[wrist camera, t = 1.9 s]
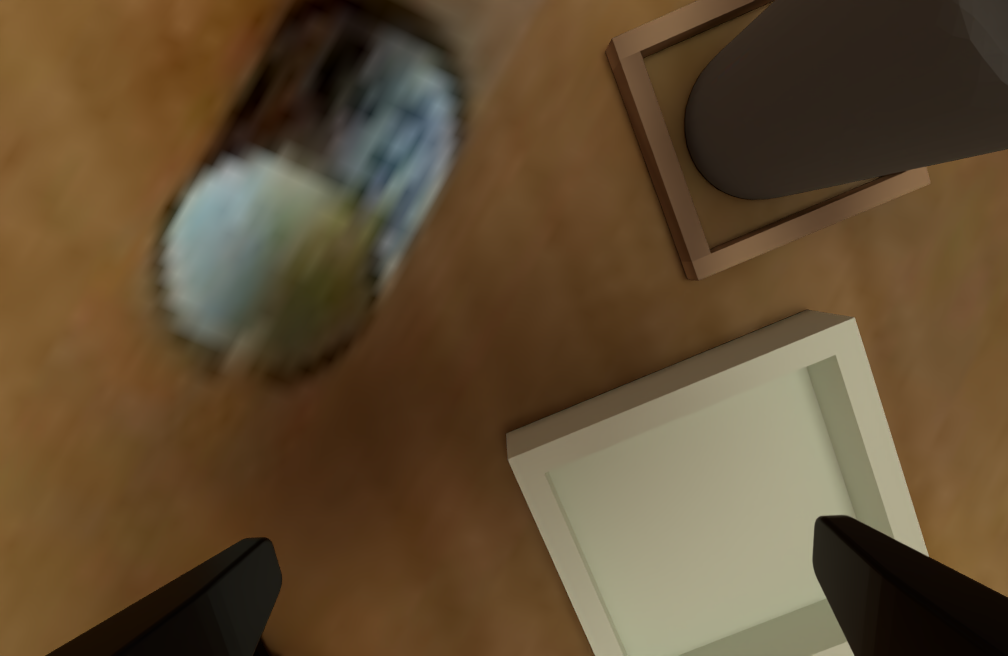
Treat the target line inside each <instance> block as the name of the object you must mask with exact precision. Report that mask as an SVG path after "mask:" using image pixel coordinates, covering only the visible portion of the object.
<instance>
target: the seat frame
mask: <svg viewBox="0 0 1008 656" xmlns="http://www.w3.org/2000/svg"><path fill="white" fill-rule="evenodd" d="M772 1H774V0H698V1H695V2H693V3H691V4H689V5H686V6H684V7H682V8H680V9H677V10H675V11H673V12H671V13H668V14H666V15H664V16H662V17H659V18H657V19H655V20H653V21H650V22H648V23H646V24H644V25H641V26H639V27H637V28H635V29H632V30H630V31H628V32H626V33H623V34H621V35H619V36H617V37H614V38H612V40H611V41H610V43H609V45H608V47H607V49H606V51H605V52H606V54H607V57H608V60H609V63H610V65H611V68H612V71H613V74H614V76H615V79H616V82H617V85H618V88H619V90H620V93H621V96H622V99H623V101H624V104H625V107H626V110H627V112H628V115H629V118H630V121H631V124H632V126H633V129H634V132H635V135H636V137H637V140H638V143H639V146H640V148H641V151H642V154H643V157H644V160H645V162H646V165H647V168H648V171H649V173H650V176H651V179H652V182H653V184H654V187H655V190H656V193H657V196H658V198H659V201H660V204H661V207H662V209H663V212H664V215H665V218H666V220H667V223H668V226H669V229H670V232H671V234H672V237H673V240H674V243H675V245H676V248H677V251H678V254H679V257H680V259H681V262H682V265H683V268H684V270H685V273H686V276H687V279H689V280H698V281H699V280H701V279H704V278H706V277H708V276H711V275H713V274H715V273H718V272H720V271H723V270H725V269H727V268H730V267H732V266H735V265H737V264H739V263H742V262H744V261H747V260H749V259H751V258H754V257H756V256H759V255H761V254H763V253H766V252H768V251H771V250H773V249H775V248H778V247H780V246H782V245H785V244H787V243H790V242H792V241H794V240H797V239H799V238H802V237H804V236H806V235H809V234H811V233H814V232H816V231H818V230H821V229H823V228H826V227H828V226H830V225H833V224H835V223H837V222H840V221H842V220H845V219H847V218H849V217H852V216H854V215H857V214H859V213H861V212H864V211H866V210H869V209H871V208H873V207H876V206H878V205H881V204H883V203H885V202H888V201H890V200H892V199H895V198H897V197H900V196H902V195H904V194H907V193H909V192H912V191H914V190H916V189H919V188H921V187H924V186H926V185H928V184H931V182H930V178H929V175H928V171H927V167H921V168H916V169H912V170H907V171H902V172H898V173H893V174H888V175H883V177H881V178H879V179H876V180H874V181H872V182H869V183H867V184H865V185H862V186H860V187H857V188H855V189H853V190H850V191H848V192H846V193H843V194H841V195H838V196H836V197H834V198H831V199H829V200H827V201H824V202H822V203H819V204H817V205H815V206H812V207H810V208H807V209H805V210H803V211H800V212H798V213H796V214H793V215H791V216H788V217H786V218H784V219H781V220H779V221H777V222H774V223H772V224H769V225H767V226H765V227H762V228H760V229H758V230H755V231H753V232H750V233H748V234H746V235H743V236H741V237H738V238H736V239H734V240H731V241H729V242H727V243H724V244H722V245H719V246H717V247H715V248H712V249H709V246H708V244H707V241H706V238H705V235H704V232H703V229H702V226H701V224H700V221H699V218H698V215H697V212H696V209H695V207H694V204H693V201H692V198H691V195H690V192H689V189H688V187H687V184H686V181H685V178H684V175H683V172H682V169H681V167H680V164H679V161H678V158H677V155H676V152H675V149H674V147H673V144H672V141H671V138H670V135H669V132H668V129H667V127H666V124H665V121H664V118H663V115H662V112H661V109H660V107H659V104H658V101H657V98H656V95H655V92H654V90H653V87H652V84H651V81H650V78H649V75H648V72H647V70H646V67H645V64H644V61H643V58H644V57H647V56H649V55H651V54H653V53H656V52H658V51H660V50H663V49H665V48H667V47H669V46H672V45H674V44H676V43H678V42H681V41H683V40H685V39H688V38H690V37H692V36H694V35H697V34H699V33H701V32H703V31H706V30H708V29H710V28H712V27H715V26H717V25H719V24H722V23H724V22H726V21H728V20H731V19H733V18H735V17H737V16H740V15H742V14H744V13H747V12H749V11H751V10H753V9H756V8H758V7H760V6H762V5H765V4H767V3H769V2H772Z"/></svg>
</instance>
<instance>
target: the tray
mask: <svg viewBox="0 0 1008 656" xmlns="http://www.w3.org/2000/svg"><path fill="white" fill-rule="evenodd" d="M506 442H507V458H508V461H509V464H510V466H511V468H512V470H513V473H514V475H515V477H516V479H517V482H518V484H519V486H520V488H521V491H522V493H523V495H524V497H525V500H526V502H527V504H528V506H529V508H530V511H531V513H532V515H533V517H534V520H535V522H536V524H537V526H538V529H539V531H540V533H541V535H542V538H543V540H544V542H545V544H546V547H547V549H548V551H549V553H550V556H551V558H552V560H553V562H554V565H555V567H556V569H557V571H558V573H559V576H560V578H561V580H562V582H563V585H564V587H565V589H566V591H567V594H568V596H569V598H570V600H571V603H572V605H573V607H574V609H575V612H576V614H577V616H578V618H579V621H580V623H581V625H582V627H583V630H584V632H585V634H586V636H587V638H588V641H589V643H590V645H591V647H592V650H593V652H594V654H595V656H854V654H853V652H852V650H851V648H850V646H849V644H848V642H847V640H846V638H845V636H844V634H843V632H842V629H841V627H840V625H839V623H838V621H837V619H836V617H835V615H834V613H833V611H832V609H831V607H830V605H829V603H828V601H827V599H826V596H825V594H824V592H823V590H822V588H821V586H820V584H819V582H818V580H817V578H816V575H815V572H814V569H813V563H812V554H813V538H814V524H815V521H816V519H817V518H818V517H819V516H825V515H847V516H850V517H852V518H854V519H856V520H858V521H860V522H862V523H864V524H866V525H868V526H870V527H872V528H874V529H876V530H878V531H880V532H882V533H883V534H885V535H887V536H889V537H891V538H893V539H895V540H897V541H899V542H901V543H903V544H905V545H907V546H909V547H911V548H913V549H915V550H916V551H918V552H920V553H922V554H924V555H926V556H928V557H929V555H928V552H927V549H926V546H925V542H924V539H923V536H922V533H921V530H920V526H919V523H918V520H917V517H916V513H915V510H914V507H913V504H912V501H911V497H910V494H909V491H908V488H907V484H906V481H905V478H904V475H903V472H902V468H901V465H900V462H899V459H898V455H897V452H896V449H895V446H894V443H893V439H892V436H891V433H890V430H889V426H888V423H887V420H886V417H885V414H884V410H883V407H882V404H881V401H880V397H879V394H878V391H877V388H876V385H875V381H874V378H873V375H872V372H871V368H870V365H869V362H868V359H867V356H866V352H865V349H864V346H863V343H862V339H861V336H860V333H859V330H858V327H857V323H856V320H855V317H849V316H843V315H836V314H830V313H824V312H818V311H812V310H805V311H803V312H800V313H798V314H795V315H793V316H791V317H788V318H786V319H783V320H781V321H778V322H776V323H774V324H771V325H769V326H766V327H764V328H761V329H759V330H757V331H754V332H752V333H749V334H747V335H744V336H742V337H740V338H737V339H735V340H732V341H730V342H727V343H725V344H722V345H720V346H718V347H715V348H713V349H710V350H708V351H705V352H703V353H701V354H698V355H696V356H693V357H691V358H688V359H686V360H684V361H681V362H679V363H676V364H674V365H671V366H669V367H667V368H664V369H662V370H659V371H657V372H654V373H652V374H650V375H647V376H645V377H642V378H640V379H637V380H635V381H633V382H630V383H628V384H625V385H623V386H620V387H618V388H616V389H613V390H611V391H608V392H606V393H603V394H601V395H599V396H596V397H594V398H591V399H589V400H586V401H584V402H582V403H579V404H577V405H574V406H572V407H569V408H567V409H564V410H562V411H560V412H557V413H555V414H552V415H550V416H547V417H545V418H543V419H540V420H538V421H535V422H533V423H530V424H528V425H526V426H523V427H521V428H518V429H516V430H513V431H511V432H509V433H506Z"/></svg>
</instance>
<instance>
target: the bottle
mask: <svg viewBox="0 0 1008 656" xmlns="http://www.w3.org/2000/svg"><path fill="white" fill-rule="evenodd" d="M685 132H686V139H687V146H688V149H689V151H690V154H691V156H692V159H693V161H694V163H695V165H696V166H697V168H698V170H699V171H700V172H701V173H702V175H703V176H704V177H705V178H706V179H707V180H708V181H709V182H710V183H711V184H713V185H714V186H715V187H717V188H718V189H720V190H721V191H723V192H725V193H727V194H730V195H732V196H736V197H739V198H744V199H752V200H753V199H770V198H777V197H783V196H788V195H793V194H798V193H802V192H807V191H812V190H817V189H822V188H827V187H832V186H836V185H841V184H846V183H850V182H855V181H860V180H865V179H869V178H874V177H879V176H883V175H888V174H893V173H898V172H902V171H907V170H912V169H916V168H921V167H926V166H930V165H935V164H940V163H945V162H949V161H954V160H959V159H963V158H968V157H973V156H977V155H982V154H987V153H992V152H996V151H1001V150H1006V149H1008V0H775V1H774V2H773V3H772V4H771V5H770V6H769V7H768V8H767V9H766V10H764V11H763V12H762V13H761V14H760V15H759V16H758V17H757V18H756V19H755V20H754V21H753V22H752V23H750V24H749V25H748V26H747V27H746V28H745V29H744V30H743V31H742V32H741V33H740V34H739V35H738V36H736V37H735V38H734V39H733V40H732V41H731V42H730V43H729V44H728V45H727V46H726V47H725V48H723V49H722V50H721V51H720V52H719V53H718V55H717V56H716V57H715V58H714V59H713V60H712V61H711V62H710V63H709V64H708V65H707V67H706V68H705V69H704V70H703V72H702V73H701V74H700V76H699V78H698V79H697V81H696V83H695V85H694V87H693V89H692V92H691V94H690V97H689V100H688V104H687V108H686V115H685Z"/></svg>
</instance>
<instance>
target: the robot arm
mask: <svg viewBox="0 0 1008 656" xmlns="http://www.w3.org/2000/svg"><path fill="white" fill-rule="evenodd" d="M812 563H813V569H814V572H815V575H816V578H817V580H818V582H819V584H820V586H821V588H822V590H823V592H824V594H825V596H826V599H827V601H828V603H829V605H830V607H831V609H832V611H833V613H834V615H835V617H836V619H837V621H838V623H839V625H840V627H841V629H842V632H843V634H844V636H845V638H846V640H847V642H848V644H849V646H850V648H851V650H852V652H853V654H854V656H1008V597H1006V596H1004V595H1002V594H1000V593H998V592H996V591H994V590H992V589H990V588H988V587H986V586H984V585H983V584H981V583H979V582H977V581H975V580H973V579H971V578H969V577H967V576H965V575H963V574H961V573H959V572H957V571H955V570H953V569H951V568H949V567H948V566H946V565H944V564H942V563H940V562H938V561H936V560H934V559H932V558H930V557H928V556H926V555H924V554H922V553H920V552H918V551H916V550H915V549H913V548H911V547H909V546H907V545H905V544H903V543H901V542H899V541H897V540H895V539H893V538H891V537H889V536H887V535H885V534H883V533H882V532H880V531H878V530H876V529H874V528H872V527H870V526H868V525H866V524H864V523H862V522H860V521H858V520H856V519H854V518H852V517H850V516H847V515H825V516H819V517H818V518H817V519H816V521H815V524H814V538H813V554H812ZM281 585H282V574H281V570H280V567H279V564H278V560H277V557H276V554H275V550H274V547H273V544H272V542H271V541H270V540H269V539H268V538H265V537H260V538H246V539H243V540H241V541H239V542H237V543H236V544H234V545H232V546H231V547H229V548H227V549H226V550H224V551H222V552H221V553H219V554H217V555H215V556H214V557H212V558H210V559H209V560H207V561H205V562H204V563H202V564H200V565H198V566H197V567H195V568H193V569H192V570H190V571H188V572H187V573H185V574H183V575H181V576H180V577H178V578H176V579H175V580H173V581H171V582H170V583H168V584H166V585H164V586H163V587H161V588H159V589H158V590H156V591H154V592H153V593H151V594H149V595H148V596H146V597H144V598H142V599H141V600H139V601H137V602H136V603H134V604H132V605H131V606H129V607H127V608H125V609H124V610H122V611H120V612H119V613H117V614H115V615H114V616H112V617H110V618H108V619H107V620H105V621H103V622H102V623H100V624H98V625H97V626H95V627H93V628H91V629H90V630H88V631H86V632H85V633H83V634H81V635H80V636H78V637H76V638H75V639H73V640H71V641H69V642H68V643H66V644H64V645H63V646H61V647H59V648H58V649H56V650H54V651H52V652H51V653H49V654H47V655H46V656H269V655H268V653H267V651H266V650H265V648H264V646H263V644H262V643H261V641H260V638H261V635H262V633H263V630H264V628H265V626H266V623H267V621H268V618H269V616H270V614H271V611H272V609H273V606H274V604H275V602H276V599H277V597H278V594H279V592H280V589H281Z"/></svg>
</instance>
